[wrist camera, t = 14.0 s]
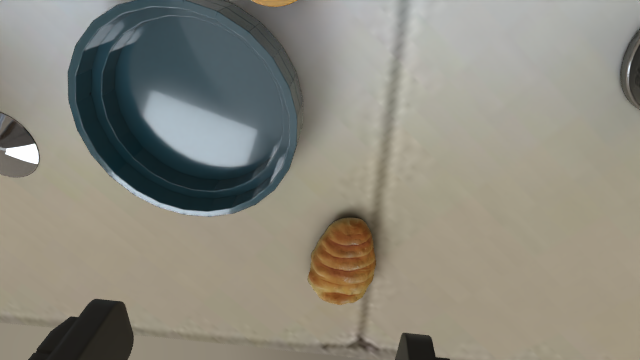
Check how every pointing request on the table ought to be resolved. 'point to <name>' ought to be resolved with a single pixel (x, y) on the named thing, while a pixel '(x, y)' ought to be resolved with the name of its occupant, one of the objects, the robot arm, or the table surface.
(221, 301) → the table surface
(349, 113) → the table surface
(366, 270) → the pastry
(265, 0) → the tan ridged cylinder
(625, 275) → the table surface
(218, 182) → the bowl
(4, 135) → the wine glass
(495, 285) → the table surface
